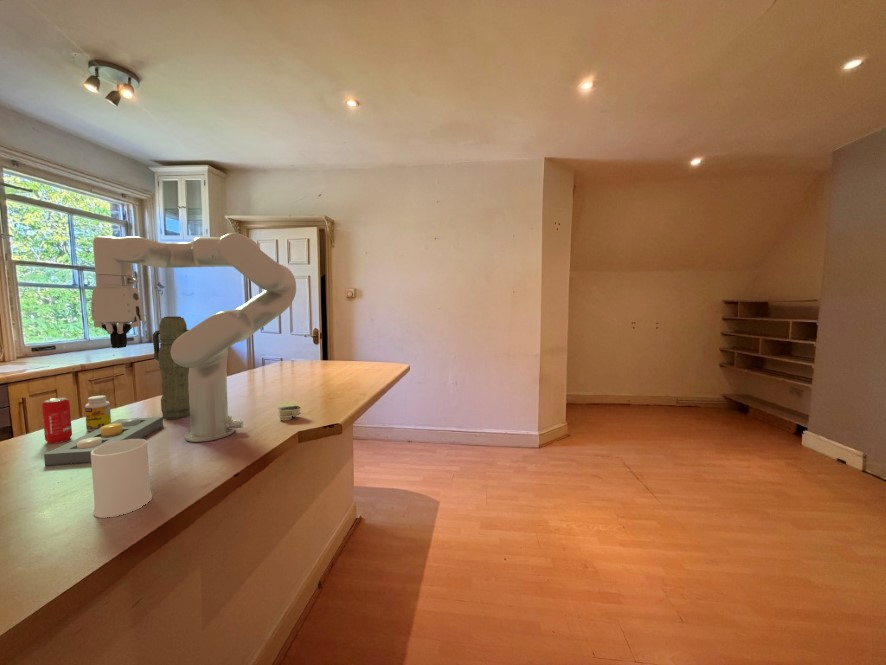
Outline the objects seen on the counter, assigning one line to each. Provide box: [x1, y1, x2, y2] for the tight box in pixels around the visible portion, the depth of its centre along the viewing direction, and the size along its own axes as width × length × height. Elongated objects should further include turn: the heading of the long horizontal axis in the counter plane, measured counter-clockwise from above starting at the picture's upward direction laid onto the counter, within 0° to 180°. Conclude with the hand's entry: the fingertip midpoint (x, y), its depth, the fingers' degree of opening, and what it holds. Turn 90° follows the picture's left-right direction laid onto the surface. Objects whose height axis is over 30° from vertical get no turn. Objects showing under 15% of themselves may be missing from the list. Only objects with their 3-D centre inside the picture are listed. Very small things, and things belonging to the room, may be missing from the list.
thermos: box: [152, 316, 190, 420], centre depth 121 cm, size 9×12×35 cm
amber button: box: [100, 423, 122, 437], centre depth 97 cm, size 4×4×3 cm
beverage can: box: [41, 397, 73, 445], centre depth 98 cm, size 5×5×12 cm
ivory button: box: [77, 437, 102, 449], centre depth 90 cm, size 4×4×3 cm
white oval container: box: [90, 438, 153, 519], centre depth 69 cm, size 12×8×12 cm
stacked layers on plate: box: [277, 401, 302, 422], centre depth 119 cm, size 10×9×6 cm
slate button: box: [121, 417, 141, 426], centre depth 105 cm, size 4×4×3 cm
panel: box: [43, 416, 164, 467], centre depth 97 cm, size 12×26×3 cm, turn 13°
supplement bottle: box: [84, 395, 112, 432], centre depth 108 cm, size 6×6×10 cm
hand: (119, 347), depth 98 cm, fingers closed
